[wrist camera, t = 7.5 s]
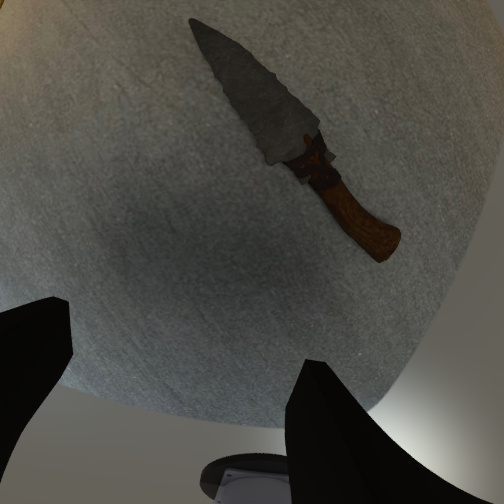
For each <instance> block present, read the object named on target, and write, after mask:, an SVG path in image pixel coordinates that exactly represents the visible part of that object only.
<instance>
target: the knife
mask: <svg viewBox="0 0 504 504" xmlns="http://www.w3.org/2000/svg"><path fill="white" fill-rule="evenodd" d="M189 24H190V27H191V29H192V31H193V34H194V37H195V39H196V41H197V43H198V45H199V48H200V50H201V52H202V54H203V55H204V57H205V58H206V59H207V61H208V62H209V64H210V66H211V68H212V70H213V72H214V76H215V78H217V79H219V80H220V81H221V82H222V85H223V92H224V93H226V94H227V95H228V96H229V97H230V100H231V105H232V106H233V107H234V108H235V109H236V110H237V111H238V112H239V114H240V117H241V118H242V119H243V120H244V121H245V122H246V123H247V124H248V126H249V128H250V130H251V132H252V133H253V134H254V135H255V136H256V137H257V147H258V148H259V149H261V150H262V151H263V152H264V153H265V159H266V162H267V164H268V165H271V166H273V165H274V164H275V163H277V162H279V161H283V163H284V164H285V165H287V166H288V167H289V168H291V169H292V170H293V171H294V173H295V174H296V176H297V177H298V178H299V182H300V183H301V184H302V185H303V184H305V183H306V182H307V181H308V182H309V184H310V185H311V186H312V188H313V189H314V190H315V191H317V192H318V194H319V195H320V196H321V198H322V199H323V201H324V202H325V203H326V205H327V206H328V208H329V210H330V211H331V212H332V214H333V215H334V217H335V218H336V220H337V221H338V222H339V224H340V225H341V227H342V228H343V230H344V231H345V232H346V233H347V234H348V235H349V236H350V237H351V238H353V239H354V240H355V241H356V242H357V243H358V244H359V245H360V246H361V247H362V248H363V249H364V250H365V251H366V252H367V253H368V254H369V255H370V256H371V257H372V258H373V259H374V260H375V261H377V262H378V263H381V262H383V261H384V260H385V261H386V260H387V259H388V258H389V257H390V256H391V255H392V253H393V252H394V251H395V249H396V248H397V246H398V244H399V242H400V239H401V232H400V230H399V229H398V228H397V227H394V226H392V225H389V224H385V223H382V222H381V221H379V220H378V219H376V218H375V217H374V216H372V215H371V214H370V213H368V212H367V211H366V210H365V209H364V208H363V207H362V206H361V205H360V204H359V203H358V202H357V200H356V199H355V198H354V197H353V196H352V194H351V193H350V191H349V190H348V189H347V187H346V186H345V184H344V183H343V181H342V179H341V176H340V174H339V173H338V171H337V170H336V168H335V169H334V168H333V167H332V166H331V164H330V163H329V162H331V161H333V160H334V159H335V157H336V156H335V155H334V154H333V153H331V152H329V150H328V149H327V146H326V144H325V143H324V140H323V137H322V135H321V132H320V130H319V129H318V125H319V123H320V120H319V119H318V118H317V117H316V116H314V115H313V113H312V112H311V110H309V109H308V108H306V107H305V106H304V105H303V104H302V103H301V102H300V101H299V100H298V98H296V97H294V96H293V95H291V94H290V93H289V92H288V89H287V87H286V86H284V85H283V84H281V83H280V82H279V81H278V80H277V78H276V74H275V73H272V72H270V71H268V70H267V69H266V68H265V67H264V66H262V65H261V64H260V63H259V62H258V61H257V60H256V59H255V58H254V57H253V55H252V54H251V52H249V51H248V50H246V49H245V48H243V47H242V46H241V45H240V44H239V43H237V42H235V41H233V40H232V39H230V38H228V37H226V36H225V35H223V34H222V33H220V32H219V31H217V30H215V29H213V28H211V27H209V26H207V25H205V24H203V23H201V22H200V21H198V20H196V19H193V18H190V19H189Z"/></svg>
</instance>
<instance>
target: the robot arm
mask: <svg viewBox="0 0 504 504" xmlns="http://www.w3.org/2000/svg"><path fill="white" fill-rule="evenodd" d="M72 356H73V347H72V337H71V326H70V313H69V302H68V301H66V300H63V299H60V298H57V297H54V296H53V297H48V298H44V299H41V300H37V301H34V302H31V303H28V304H25V305H22V306H19V307H16V308H13V309H10V310H7V311H4V312H1V313H0V482H1V479H2V476H3V473H4V471H5V468H6V466H7V463H8V461H9V458H10V456H11V454H12V451H13V450H14V447H15V445H16V443H17V441H18V439H19V437H20V435H21V433H22V432H23V430H24V428H25V427H26V425H27V424H28V422H29V421H30V419H31V418H32V417H33V415H34V414H35V412H36V411H37V409H38V408H39V407H40V405H41V404H42V403H43V401H44V400H45V398H46V397H47V396H48V394H49V393H50V392H51V390H52V389H53V388H54V386H55V385H56V383H57V382H58V381H59V379H60V378H61V376H62V374H63V372H64V371H65V369H66V367H67V365H68V363H69V361H70V359H71V358H72ZM285 445H286V454H287V464H288V473H289V474H277V473H267V472H257V471H249V470H242V469H235V468H227V469H225V471H224V474H223V477H222V480H221V483H220V486H219V488H218V491H217V494H216V497H215V499H214V503H213V504H493V503H490V502H487V501H485V500H482V499H480V498H477V497H475V496H473V495H471V494H469V493H467V492H465V491H463V490H461V489H459V488H457V487H455V486H454V485H452V484H450V483H449V482H447V481H445V480H444V479H442V478H441V477H439V476H438V475H436V474H435V473H433V472H432V471H430V470H429V469H427V468H426V467H425V466H423V465H422V464H421V463H419V462H418V461H417V460H415V459H414V458H413V457H412V456H411V455H409V454H408V453H407V452H406V451H405V450H403V449H402V448H401V447H400V446H399V445H398V444H397V443H396V442H395V441H393V440H392V439H391V438H390V437H389V436H388V435H387V434H386V433H385V432H384V431H383V430H382V428H381V427H380V426H379V425H378V424H377V423H376V422H375V421H374V420H373V419H372V418H371V417H370V416H369V415H368V413H367V412H366V411H365V410H364V409H363V408H362V406H361V405H360V404H359V403H358V402H357V400H356V399H355V398H354V397H353V396H352V394H351V393H350V392H349V391H348V389H347V388H346V387H345V386H344V384H343V383H342V382H341V381H340V379H339V378H338V377H337V376H336V374H335V373H334V372H333V371H332V369H331V368H330V367H329V366H328V365H327V363H326V362H321V361H314V360H308V359H305V361H304V364H303V367H302V369H301V372H300V374H299V376H298V379H297V381H296V384H295V386H294V389H293V391H292V393H291V396H290V398H289V401H288V403H287V405H286V409H285Z"/></svg>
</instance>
